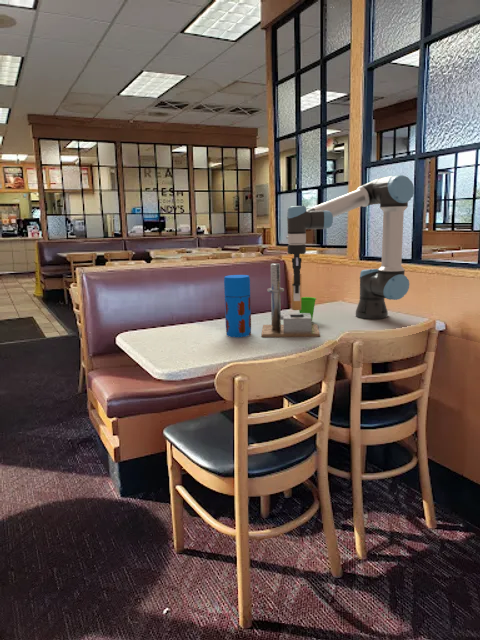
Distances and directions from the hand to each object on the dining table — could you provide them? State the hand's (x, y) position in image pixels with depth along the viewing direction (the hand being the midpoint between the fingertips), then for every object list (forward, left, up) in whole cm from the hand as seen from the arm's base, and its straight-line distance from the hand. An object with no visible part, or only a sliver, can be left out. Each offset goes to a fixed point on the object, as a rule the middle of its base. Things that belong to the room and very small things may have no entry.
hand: (296, 299), depth 206 cm
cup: (-5, -21, -14) cm, 26 cm away
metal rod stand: (+3, -1, -14) cm, 15 cm away
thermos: (+25, +3, -14) cm, 29 cm away
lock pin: (0, 0, -4) cm, 4 cm away
